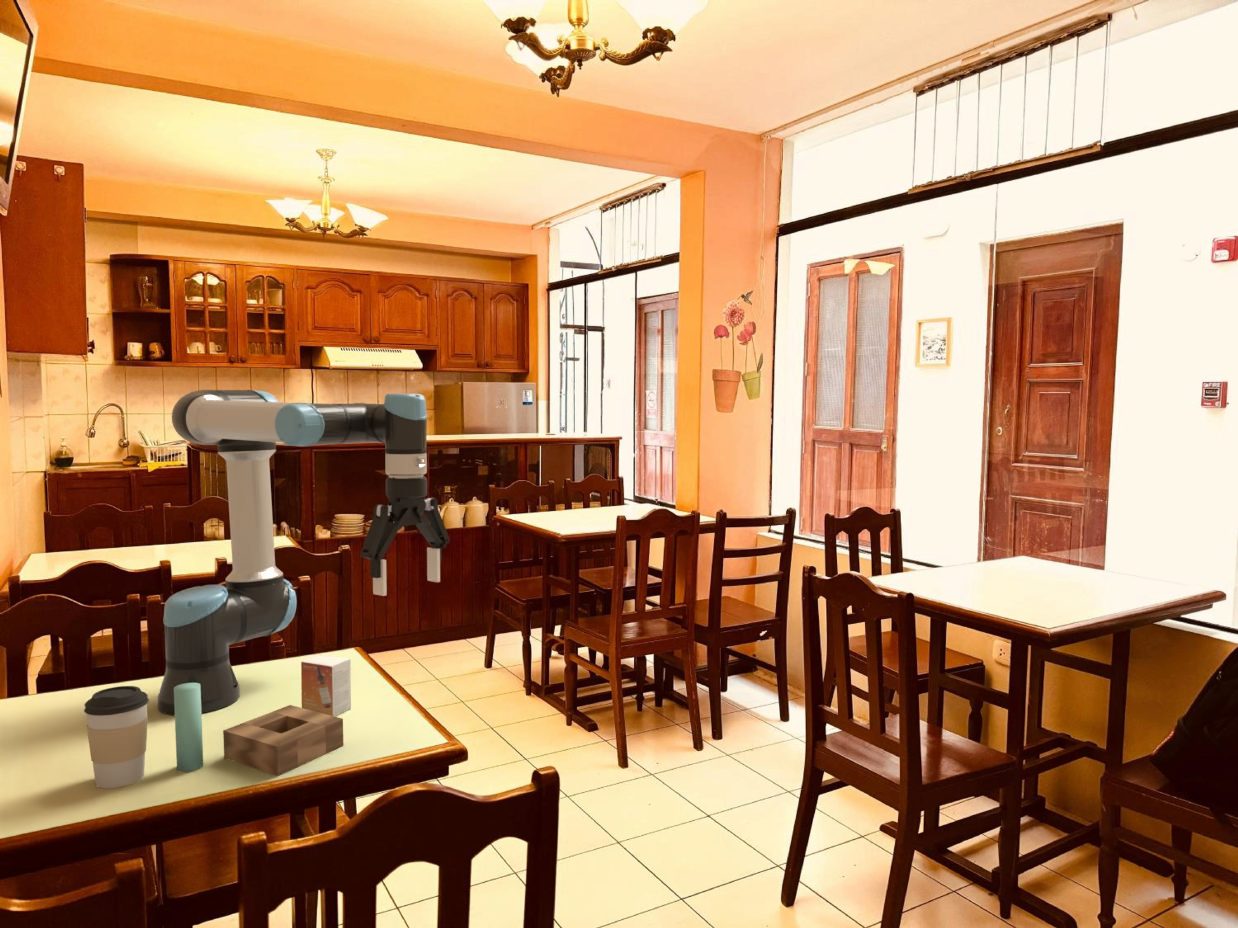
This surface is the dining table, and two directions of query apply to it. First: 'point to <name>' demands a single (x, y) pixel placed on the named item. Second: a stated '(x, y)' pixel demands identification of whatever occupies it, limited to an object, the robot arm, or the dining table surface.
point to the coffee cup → (117, 735)
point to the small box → (326, 684)
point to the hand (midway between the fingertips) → (407, 587)
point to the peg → (188, 727)
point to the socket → (283, 739)
